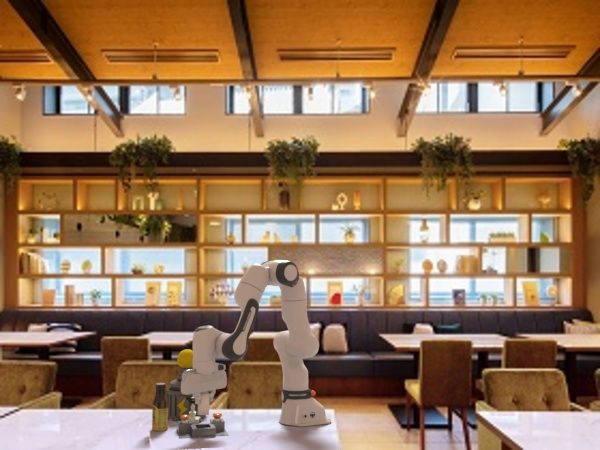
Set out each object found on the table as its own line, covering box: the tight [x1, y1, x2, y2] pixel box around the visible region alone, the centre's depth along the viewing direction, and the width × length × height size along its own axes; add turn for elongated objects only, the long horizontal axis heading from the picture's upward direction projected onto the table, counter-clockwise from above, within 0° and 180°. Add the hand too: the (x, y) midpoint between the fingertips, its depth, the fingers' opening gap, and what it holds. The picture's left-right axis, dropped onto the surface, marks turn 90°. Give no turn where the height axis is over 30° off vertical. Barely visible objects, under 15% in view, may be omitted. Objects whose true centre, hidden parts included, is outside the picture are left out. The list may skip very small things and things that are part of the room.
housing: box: [176, 418, 229, 440], centre depth 261 cm, size 19×15×5 cm
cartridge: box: [198, 391, 211, 416], centre depth 260 cm, size 4×4×10 cm
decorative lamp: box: [165, 348, 207, 422], centre depth 298 cm, size 19×19×30 cm
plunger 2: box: [212, 412, 223, 421], centre depth 267 cm, size 4×4×6 cm
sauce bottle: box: [151, 382, 169, 432], centre depth 267 cm, size 6×6×20 cm
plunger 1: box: [180, 415, 190, 423], centre depth 264 cm, size 4×4×6 cm
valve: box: [185, 396, 202, 424], centre depth 280 cm, size 7×7×12 cm
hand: (204, 402), depth 260 cm, fingers closed on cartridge, 5 cm apart
